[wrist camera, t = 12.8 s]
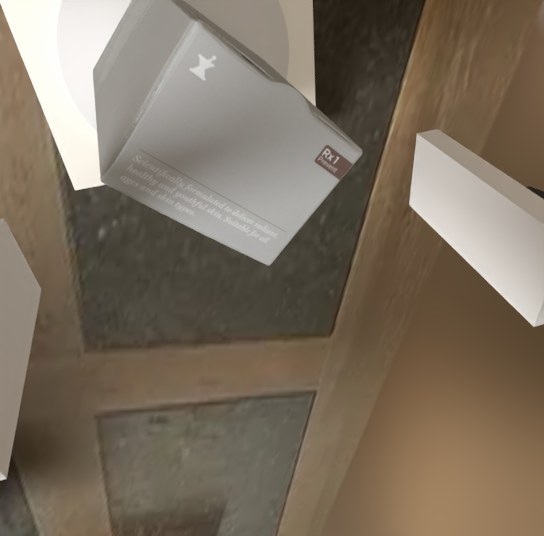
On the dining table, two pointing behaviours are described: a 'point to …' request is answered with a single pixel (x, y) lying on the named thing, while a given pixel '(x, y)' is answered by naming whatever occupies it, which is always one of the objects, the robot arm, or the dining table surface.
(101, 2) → the scale
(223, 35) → the skincare box
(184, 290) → the dining table surface
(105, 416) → the dining table surface
